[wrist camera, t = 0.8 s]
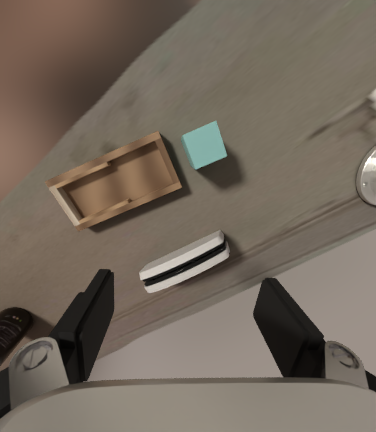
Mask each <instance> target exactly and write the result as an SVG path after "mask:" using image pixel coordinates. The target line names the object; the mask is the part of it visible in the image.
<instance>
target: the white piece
mask: <svg viewBox="0 0 376 432" xmlns="http://www.w3.org/2000/svg"><path fill="white" fill-rule="evenodd" d="M229 253H230V250H229V246H228V243H227V241H225V240H224V234H223V233H222V231H221V230H219V231H217V232H214V233H212V234H210V235H208V236H206V237H204V238H202V239H200V240H197V241H195V242H193V243H191V244H189V245H187V246H185V247H182V248H180V249H178V250H176V251H174V252H172V253H170V254H168V255H165V256H163V257H161V258H159V259H157V260H155V261H153V262H150V263H148V264H146V265H145V267H144V268H143V269H142V270H141V271H140V272H139V275H140V279H141V280H143V281H144V282H145V281H146V282H145V286H144V288H145V289H146V290H147V292H148V293H152V292H155V291H159V290H161V289H164V288H167V287H169V286H172V285H175V284H177V283H179V282H182V281H184V280H186V279H188V278H191V277H193V276H195V275H197V274H199V273H201V272H203V271H205V270H207V269H209V268H211V267H213V266H214V265H216V264H218V263H220V262H221V261H223V260H225V259H226V258H228V257H229Z"/></svg>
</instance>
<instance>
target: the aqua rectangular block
mask: <svg viewBox="0 0 376 432" xmlns="http://www.w3.org/2000/svg"><path fill="white" fill-rule="evenodd" d="M181 142H182V144H183V147H184V149H185V152H186V154H187V157H188V159H189V162H190V165H191V167H193V168H194V169H195V170H196V169H198V168H201V167H203V166H205V165H208V164H210V163H212V162H215V161H217V160H219V159H222V158H224V157H226V156H227V154H226V150H225V147H224V144H223V141H222V138H221V135H220V132H219V128H218V125H217V122H216V121H214V122H212V123H210V124H207V125H205V126H203V127H200V128H198V129H196V130H194V131H191V132H189V133H187V134H185V135H182V138H181Z"/></svg>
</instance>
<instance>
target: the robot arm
mask: <svg viewBox="0 0 376 432" xmlns="http://www.w3.org/2000/svg"><path fill="white" fill-rule="evenodd" d="M356 187H357V191H358V193H359V195H360V197H361V198H362V199H363V200H364V201H366V202H367V203H369V204H373V205H376V146H374V147H373V148H372V149H371V150H370V151H369V152H368V154H367V155H366V156H365V158H364V159H363V161H362V163H361V165H360V167H359V170H358V173H357V178H356ZM113 312H114V273H113V272H111V271H110V270H109V269H99V271H98V272H97V274H96V275H95V277H94V278H93V280H92V281H91V283H90V284H89V286H88V288H87V289H86V291H85V292H80V293H78V295H77V296H76V297H75V299H74V300H73V301H72V303H71V304H70V306H69V307H68V309H67V310H66V312H65V313H64V314H63V316H62V317H61V319H60V320H59V322H58V323H57V325H56V326H55V327H54V329H53V330H52V332H51V333H50V335H49V336H48V337H44V338H39V339H36V340H33V341H31V342H29V343H28V344H26V345H24V346H23V347H22V348H21V349H19V350H18V351H17V352H16V354H15V355H14V356H13V357H12V359H11V361H10V364H9V367H8V368H6V369H4V370H2V371H0V432H376V377H375V376H374V375H372V374H370V373H369V372H367V371H366V370H365V369H364V366H363V364H362V361H361V360H360V359H359V357H358V356H357V355H356V354H355V353H354V352H353V351H351V350H350V349H349V348H347V347H346V346H344V345H343V344H340V343H338V342H335V341H327V342H325V341H324V339H323V338H324V335H323V334H322V333H321V332H320V331H319V329H318V328H317V327H316V326H315V325H314V323H313V322H312V321H311V320H310V319H309V318H308V316H307V315H306V314H305V313H304V312H303V310H302V309H301V308H300V307H299V305H298V304H297V303H296V302H295V301H294V300H293V298H292V297H291V296H290V295H289V293H288V292H287V291H286V290H285V289H284V287H283V286H282V285H281V284H280V283H279V281H278V280H277V279H275V278H265V280H263V281H262V284H261V288H260V291H259V294H258V298H257V301H256V305H255V308H254V313H253V316H254V319H255V321H256V323H257V325H258V327H259V329H260V331H261V333H262V335H263V337H264V339H265V341H266V343H267V345H268V347H269V349H270V351H271V353H272V355H273V357H274V359H275V362H276V363H277V366H278V368H279V370H280V371H281V374H282V375H283V378H280V377H277V378H174V379H129V380H102V381H90V382H83V381H87V380H88V378H89V376H90V373H91V370H92V368H93V365H94V362H95V360H96V357H97V355H98V352H99V350H100V347H101V344H102V342H103V339H104V337H105V334H106V331H107V329H108V326H109V323H110V321H111V318H112V316H113Z"/></svg>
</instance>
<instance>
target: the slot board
mask: <svg viewBox="0 0 376 432" xmlns="http://www.w3.org/2000/svg"><path fill="white" fill-rule="evenodd" d="M45 183H46V185H47V186H48V188H49V189H50V191H51V192H52V194H53V195H54V196H55V198H56V199H57V201H58V202H59V204H60V205H61V207H62V208H63V210H64V211H65V213H66V214H67V216H68V217H69V218H70V220H71V221H72V223H73V224H74V226H75V227H76V229H77V230H78V231H80V230H83V229H85V228H87V227H90V226H92V225H95V224H97V223H99V222H102V221H104V220H106V219H109V218H111V217H113V216H116V215H118V214H121V213H123V212H125V211H128V210H130V209H132V208H135V207H137V206H139V205H142V204H144V203H147V202H149V201H151V200H154V199H156V198H158V197H161V196H163V195H165V194H168V193H170V192H173V191H175V190H177V189H180V188H182V185H181V183H180V180H179V178H178V176H177V173H176V171H175V168H174V166H173V164H172V161H171V159H170V157H169V154H168V152H167V150H166V147H165V145H164V142H163V140H162V138H161V135H160V133H159V132H158V131H157V132H154V133H152V134H150V135H148V136H145V137H143V138H141V139H139V140H136V141H134V142H132V143H130V144H128V145H125V146H123V147H121V148H119V149H116V150H114V151H112V152H110V153H108V154H105V155H103V156H101V157H99V158H96V159H94V160H92V161H90V162H87V163H85V164H83V165H81V166H79V167H76V168H74V169H72V170H70V171H67V172H65V173H63V174H61V175H58V176H56V177H54V178H52V179H50V180H47V181H45Z"/></svg>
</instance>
